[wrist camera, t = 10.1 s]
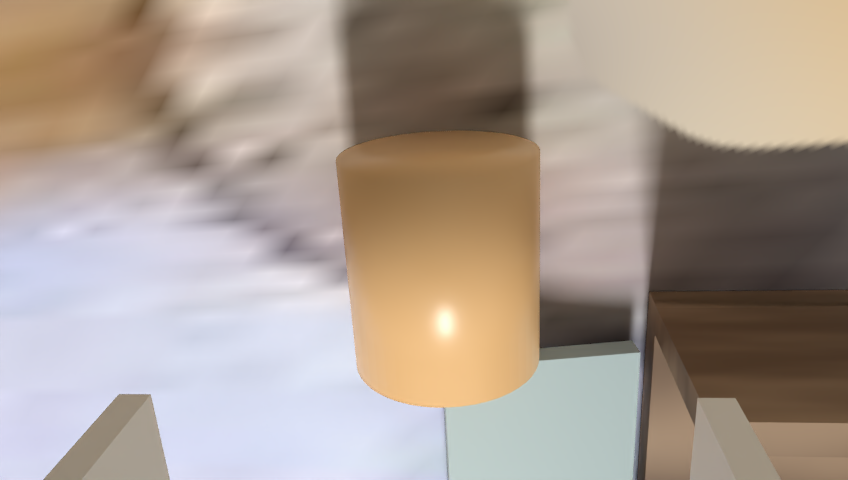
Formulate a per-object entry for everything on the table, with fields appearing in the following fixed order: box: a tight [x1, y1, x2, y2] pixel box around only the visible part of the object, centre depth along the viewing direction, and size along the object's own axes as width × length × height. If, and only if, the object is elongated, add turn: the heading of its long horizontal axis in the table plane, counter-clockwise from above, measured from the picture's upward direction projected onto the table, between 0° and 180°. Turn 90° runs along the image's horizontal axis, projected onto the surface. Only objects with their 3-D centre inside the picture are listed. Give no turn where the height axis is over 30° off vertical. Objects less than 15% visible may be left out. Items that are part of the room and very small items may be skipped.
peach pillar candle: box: [336, 130, 540, 407], centre depth 26 cm, size 8×7×7 cm
